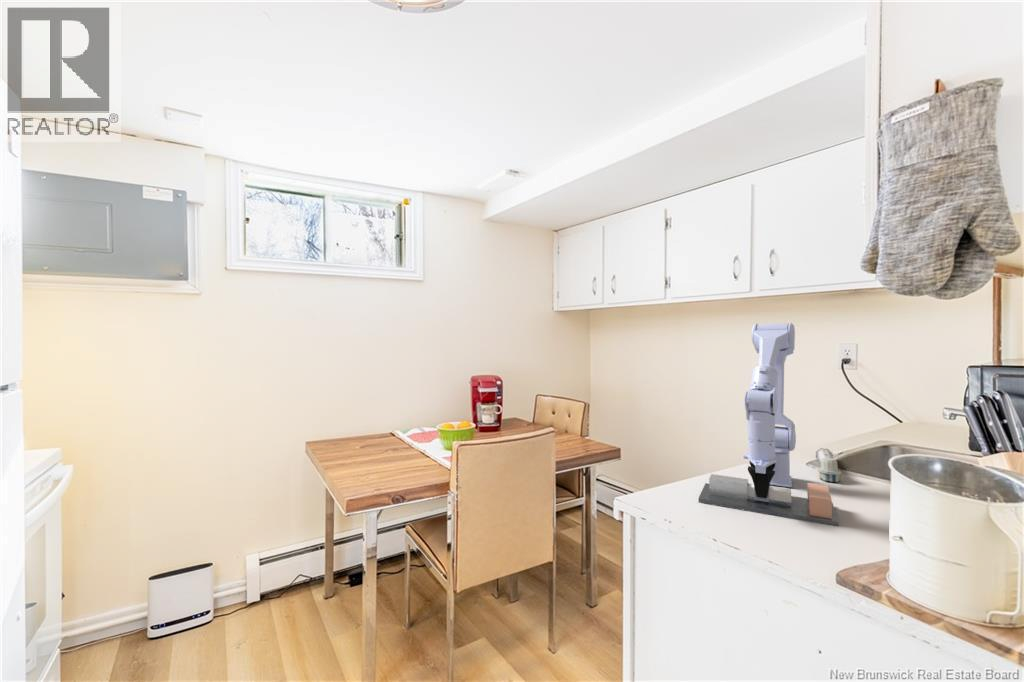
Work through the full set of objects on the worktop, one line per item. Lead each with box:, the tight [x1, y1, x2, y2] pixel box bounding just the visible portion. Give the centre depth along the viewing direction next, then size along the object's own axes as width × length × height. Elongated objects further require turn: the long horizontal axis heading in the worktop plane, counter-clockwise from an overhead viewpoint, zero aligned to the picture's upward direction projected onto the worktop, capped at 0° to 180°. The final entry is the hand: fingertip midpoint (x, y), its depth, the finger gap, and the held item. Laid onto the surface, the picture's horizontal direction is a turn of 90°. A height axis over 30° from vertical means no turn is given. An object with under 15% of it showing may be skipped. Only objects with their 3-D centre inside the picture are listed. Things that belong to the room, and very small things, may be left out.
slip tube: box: [747, 482, 792, 503], centre depth 108 cm, size 4×16×4 cm, turn 58°
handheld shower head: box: [815, 447, 842, 483], centre depth 130 cm, size 5×7×25 cm
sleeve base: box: [698, 473, 839, 527], centre depth 107 cm, size 12×28×5 cm, turn 58°
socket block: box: [806, 482, 833, 519], centre depth 101 cm, size 10×4×4 cm, turn 148°
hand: (762, 494), depth 107 cm, fingers closed on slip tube, 4 cm apart
